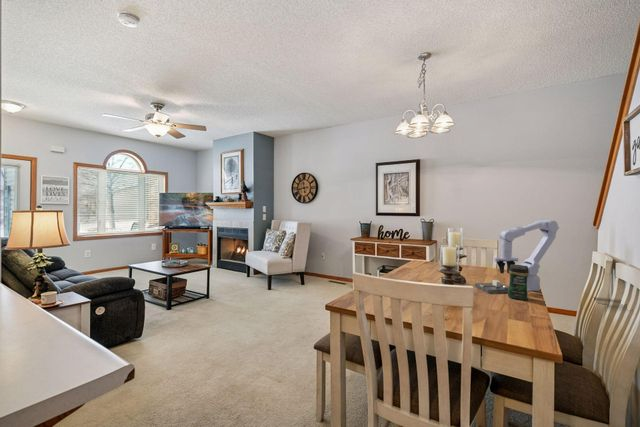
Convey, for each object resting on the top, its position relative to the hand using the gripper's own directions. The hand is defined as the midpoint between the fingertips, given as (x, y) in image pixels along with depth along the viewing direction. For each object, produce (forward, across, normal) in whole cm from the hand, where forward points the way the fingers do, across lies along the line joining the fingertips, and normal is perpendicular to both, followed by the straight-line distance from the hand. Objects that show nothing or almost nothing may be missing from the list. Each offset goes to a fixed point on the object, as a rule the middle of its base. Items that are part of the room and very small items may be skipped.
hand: (505, 273), depth 203 cm
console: (+10, +7, 0) cm, 12 cm away
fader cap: (+8, +5, 0) cm, 9 cm away
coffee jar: (+10, +3, +16) cm, 19 cm away
